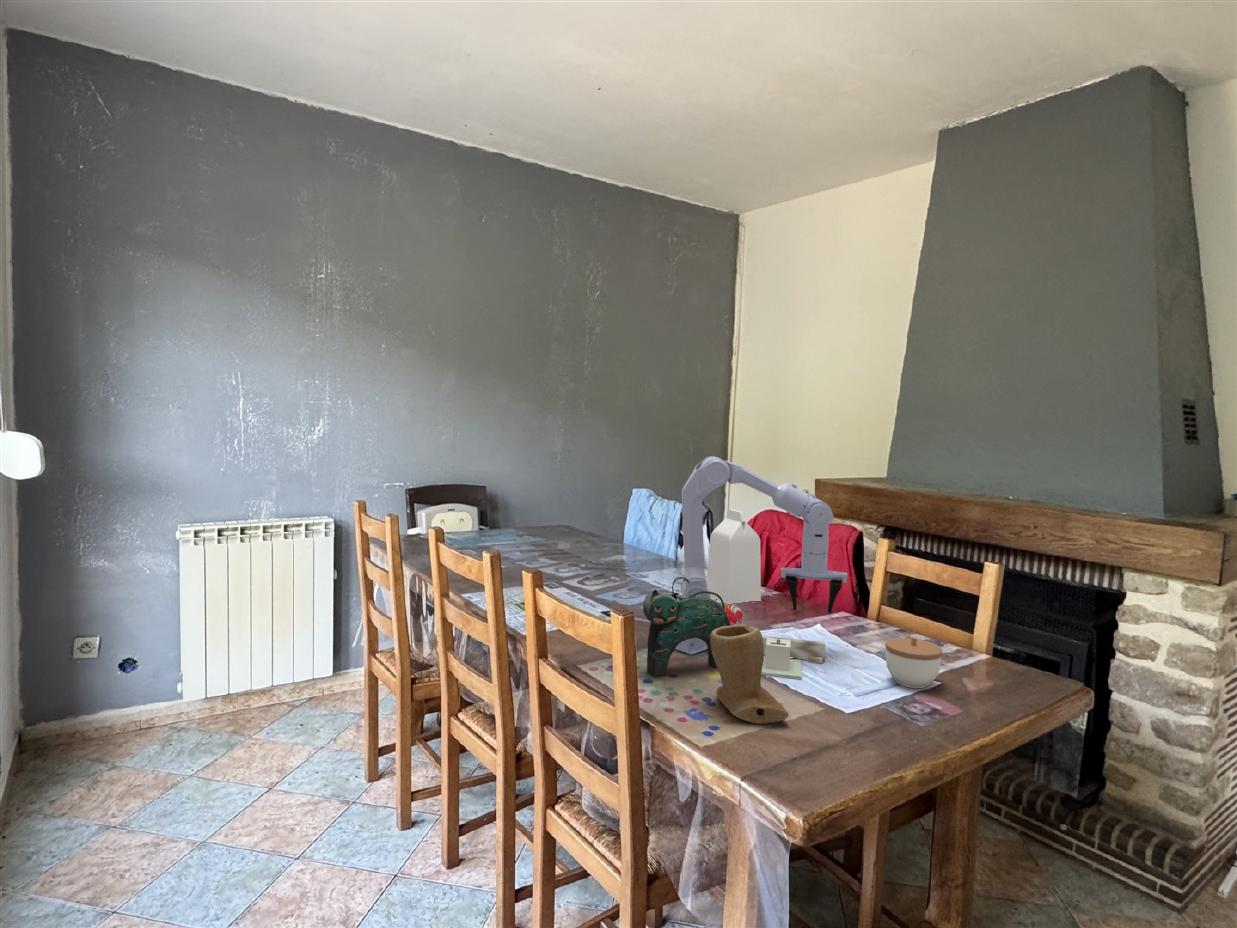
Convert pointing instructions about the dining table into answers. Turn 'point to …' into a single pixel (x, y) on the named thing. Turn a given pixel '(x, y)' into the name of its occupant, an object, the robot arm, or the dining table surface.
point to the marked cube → (777, 654)
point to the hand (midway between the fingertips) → (812, 610)
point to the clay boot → (743, 674)
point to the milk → (734, 561)
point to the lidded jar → (913, 661)
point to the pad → (792, 673)
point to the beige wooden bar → (803, 649)
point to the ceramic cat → (679, 624)
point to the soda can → (734, 615)
